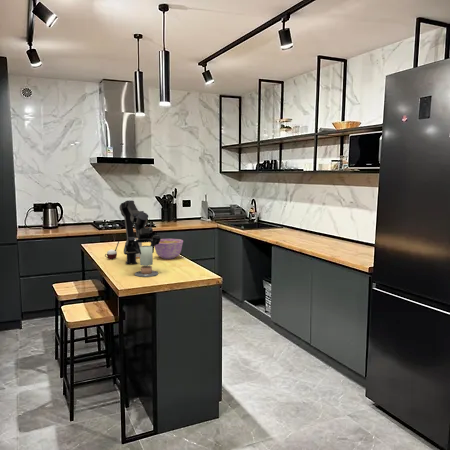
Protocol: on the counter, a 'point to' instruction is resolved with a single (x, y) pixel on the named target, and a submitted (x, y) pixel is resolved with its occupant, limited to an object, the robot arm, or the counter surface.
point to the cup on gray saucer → (146, 272)
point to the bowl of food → (169, 248)
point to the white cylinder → (146, 255)
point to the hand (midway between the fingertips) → (146, 253)
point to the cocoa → (112, 253)
